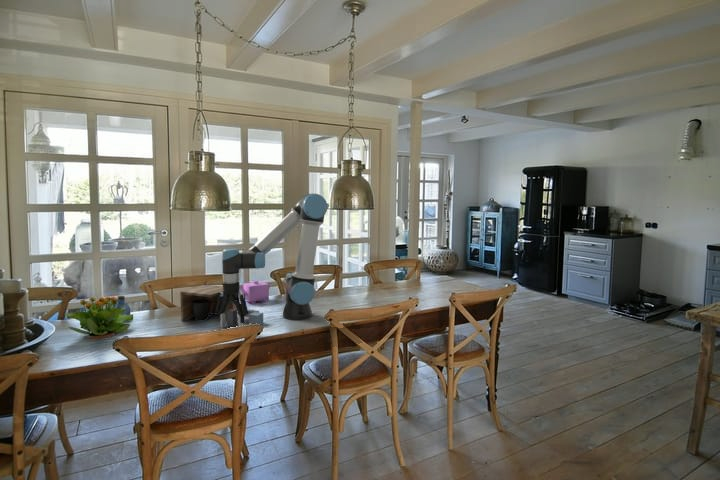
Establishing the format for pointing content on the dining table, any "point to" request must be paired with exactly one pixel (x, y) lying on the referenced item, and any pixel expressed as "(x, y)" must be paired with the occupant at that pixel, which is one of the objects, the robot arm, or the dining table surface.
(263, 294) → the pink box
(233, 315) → the dark grey angular block
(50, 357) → the dining table surface
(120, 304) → the perfume bottle
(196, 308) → the mug
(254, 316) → the cube
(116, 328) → the potted flower
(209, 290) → the shelf
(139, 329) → the dining table surface
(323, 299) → the dining table surface
